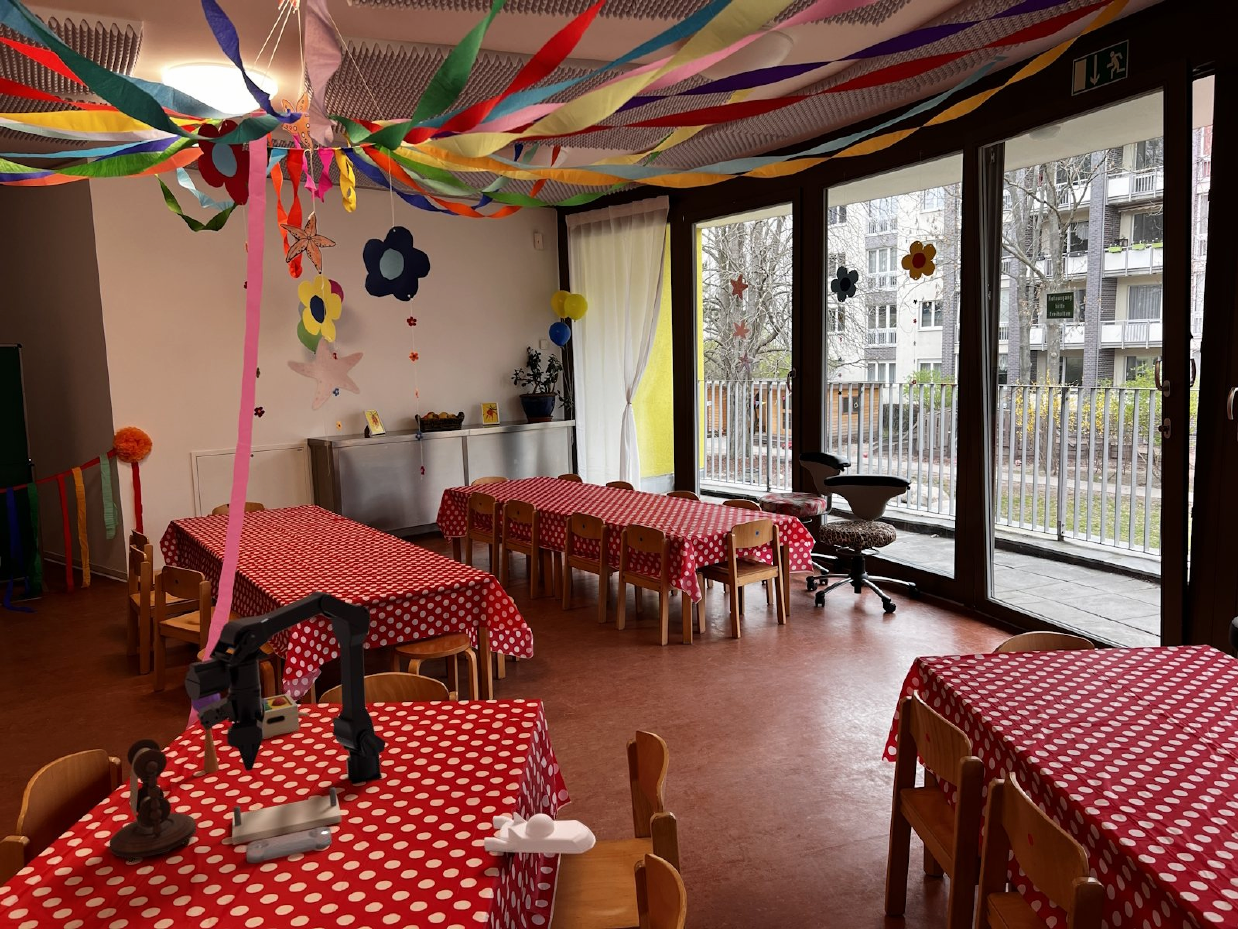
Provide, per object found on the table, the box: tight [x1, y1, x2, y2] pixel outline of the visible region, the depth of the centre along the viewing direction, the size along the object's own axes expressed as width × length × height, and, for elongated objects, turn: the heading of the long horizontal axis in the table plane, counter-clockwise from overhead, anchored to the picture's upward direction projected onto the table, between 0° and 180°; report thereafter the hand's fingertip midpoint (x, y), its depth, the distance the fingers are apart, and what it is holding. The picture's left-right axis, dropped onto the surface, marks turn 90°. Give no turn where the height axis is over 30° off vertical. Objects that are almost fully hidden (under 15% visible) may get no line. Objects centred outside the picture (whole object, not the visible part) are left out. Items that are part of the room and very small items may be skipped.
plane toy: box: [483, 811, 597, 854], centre depth 168 cm, size 10×20×6 cm, turn 87°
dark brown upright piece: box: [109, 738, 197, 863], centre depth 171 cm, size 15×15×20 cm
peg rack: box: [231, 787, 342, 845], centre depth 179 cm, size 20×10×5 cm, turn 113°
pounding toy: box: [263, 693, 310, 739], centre depth 231 cm, size 18×17×8 cm
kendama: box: [190, 693, 221, 773], centre depth 203 cm, size 6×6×20 cm
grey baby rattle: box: [245, 826, 332, 864], centre depth 168 cm, size 15×4×2 cm, turn 113°
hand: (250, 761), depth 178 cm, fingers open, 9 cm apart
